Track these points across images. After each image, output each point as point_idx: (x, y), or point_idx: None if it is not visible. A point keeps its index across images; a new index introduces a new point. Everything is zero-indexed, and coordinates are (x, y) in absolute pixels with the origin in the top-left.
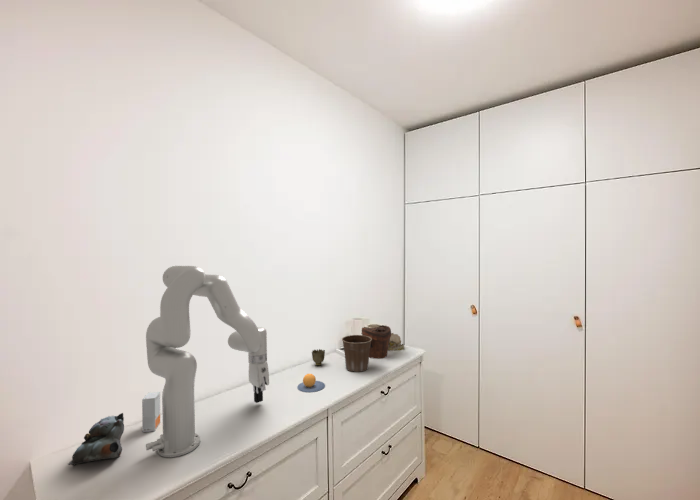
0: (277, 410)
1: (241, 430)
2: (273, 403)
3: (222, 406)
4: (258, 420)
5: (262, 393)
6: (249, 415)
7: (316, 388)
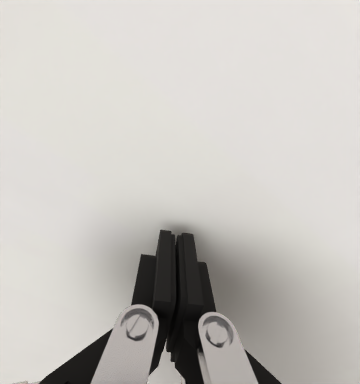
0: (351, 213)
1: (295, 378)
2: (251, 160)
3: (21, 342)
4: (310, 321)
5: (200, 286)
6: (231, 320)
7: None
